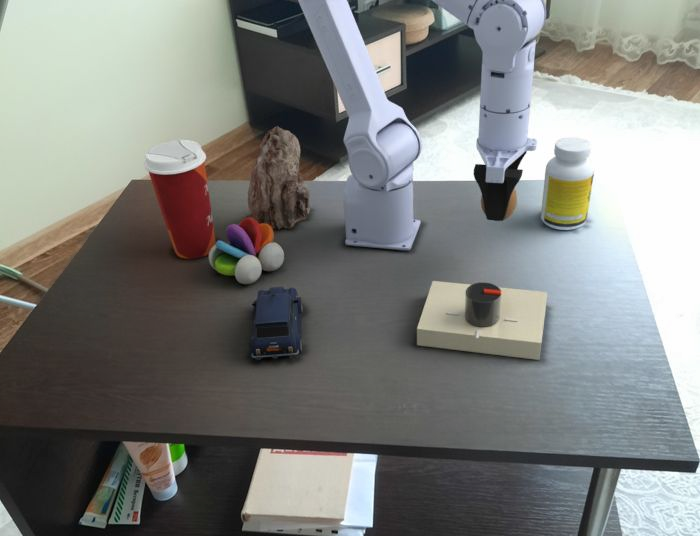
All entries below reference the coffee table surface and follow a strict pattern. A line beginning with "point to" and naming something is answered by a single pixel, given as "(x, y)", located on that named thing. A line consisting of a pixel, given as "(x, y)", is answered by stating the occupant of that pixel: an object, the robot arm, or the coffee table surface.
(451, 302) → the cream dial panel
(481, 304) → the knob
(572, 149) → the pill bottle
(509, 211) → the egg
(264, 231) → the rainbow baby rattle
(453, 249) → the coffee table surface
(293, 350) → the toy car
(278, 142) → the stone
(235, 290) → the coffee table surface
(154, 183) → the coffee cup
